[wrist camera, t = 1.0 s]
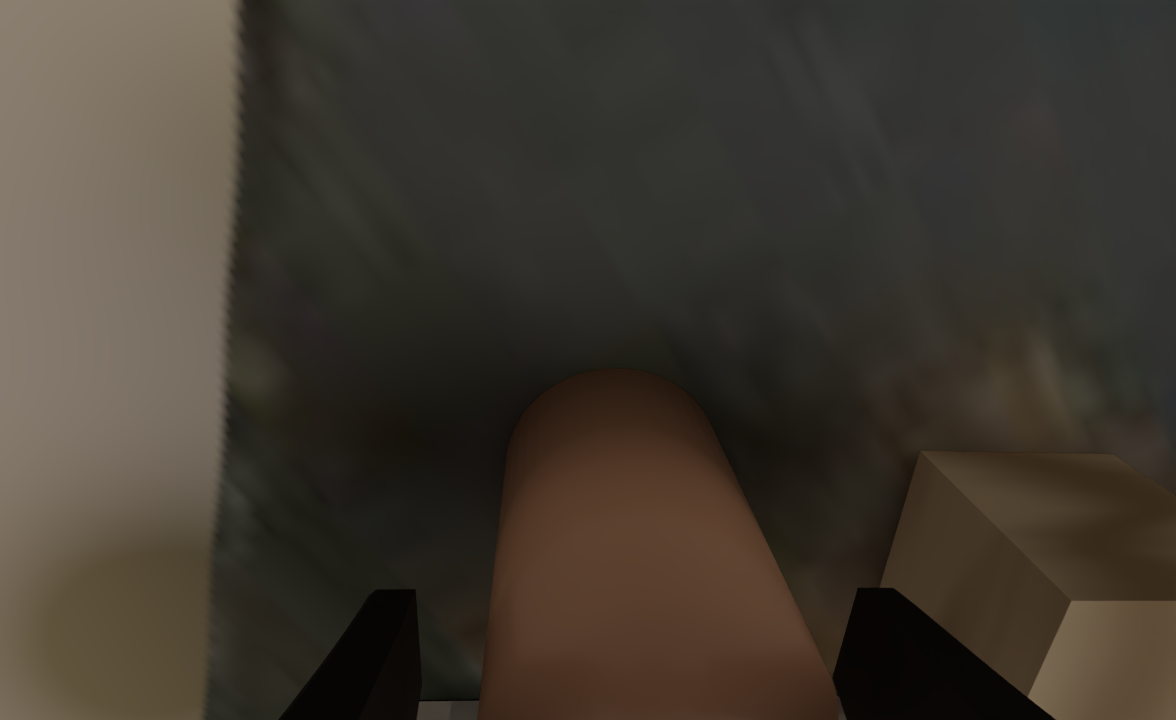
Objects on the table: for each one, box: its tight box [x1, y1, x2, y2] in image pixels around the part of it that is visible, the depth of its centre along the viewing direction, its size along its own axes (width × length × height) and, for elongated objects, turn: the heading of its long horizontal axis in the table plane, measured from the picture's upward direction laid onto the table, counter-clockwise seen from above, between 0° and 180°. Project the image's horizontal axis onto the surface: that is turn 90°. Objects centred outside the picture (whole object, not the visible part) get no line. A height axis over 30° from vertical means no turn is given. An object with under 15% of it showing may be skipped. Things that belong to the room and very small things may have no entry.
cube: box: [879, 451, 1176, 720], centre depth 15 cm, size 5×5×5 cm
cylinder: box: [477, 368, 838, 720], centre depth 12 cm, size 5×5×7 cm
